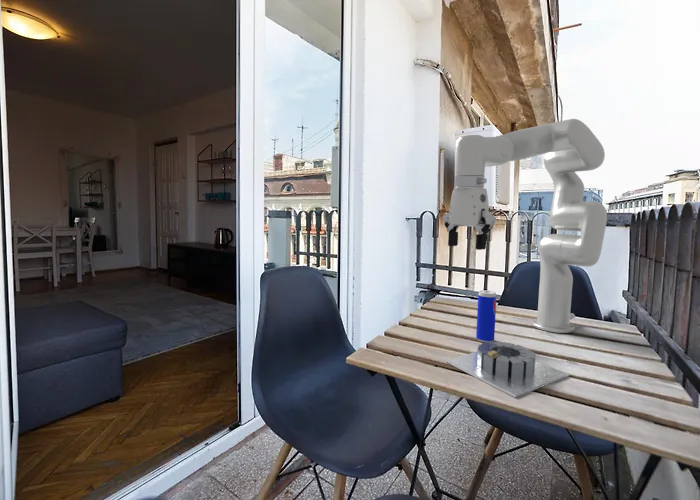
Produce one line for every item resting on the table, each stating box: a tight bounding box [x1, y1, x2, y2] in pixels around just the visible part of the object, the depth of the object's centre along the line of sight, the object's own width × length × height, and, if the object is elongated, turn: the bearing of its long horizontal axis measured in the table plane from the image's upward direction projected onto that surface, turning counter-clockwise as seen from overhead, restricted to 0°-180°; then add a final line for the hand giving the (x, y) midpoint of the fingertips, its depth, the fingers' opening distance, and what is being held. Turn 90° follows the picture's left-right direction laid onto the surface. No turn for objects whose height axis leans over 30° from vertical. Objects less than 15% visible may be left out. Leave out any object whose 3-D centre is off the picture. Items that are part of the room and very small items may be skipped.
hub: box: [445, 341, 570, 399], centre depth 89 cm, size 20×20×5 cm
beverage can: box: [475, 289, 498, 343], centre depth 108 cm, size 5×5×15 cm
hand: (466, 247), depth 97 cm, fingers open, 9 cm apart
